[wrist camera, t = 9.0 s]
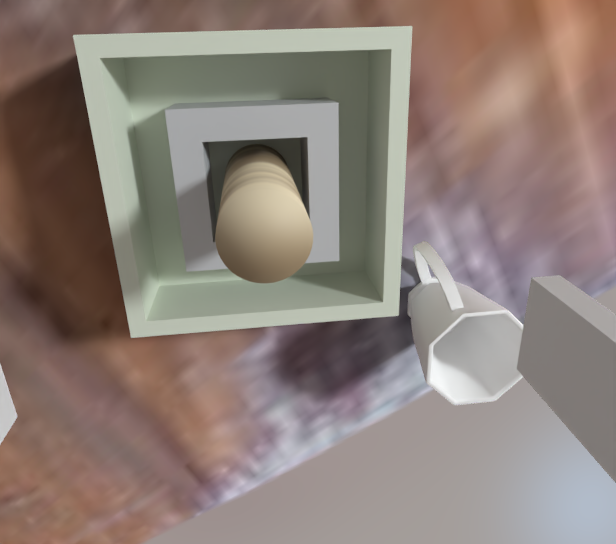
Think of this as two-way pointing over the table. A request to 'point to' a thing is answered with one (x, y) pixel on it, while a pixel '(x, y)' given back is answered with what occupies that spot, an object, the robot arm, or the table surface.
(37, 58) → the table surface
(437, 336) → the cup
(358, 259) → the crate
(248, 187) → the peg
